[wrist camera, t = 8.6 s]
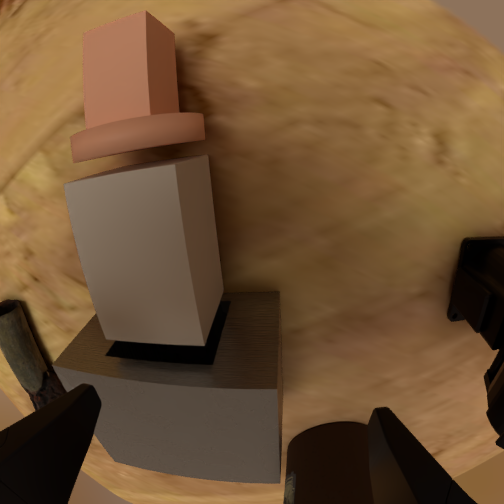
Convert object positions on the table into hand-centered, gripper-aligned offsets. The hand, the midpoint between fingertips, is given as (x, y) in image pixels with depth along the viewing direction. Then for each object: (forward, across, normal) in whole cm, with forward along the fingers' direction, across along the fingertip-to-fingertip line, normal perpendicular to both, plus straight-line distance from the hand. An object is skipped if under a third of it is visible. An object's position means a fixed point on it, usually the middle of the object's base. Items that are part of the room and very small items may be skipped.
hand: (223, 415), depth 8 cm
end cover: (+11, +5, -6) cm, 13 cm away
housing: (+12, +4, +7) cm, 14 cm away
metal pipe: (+12, +23, +13) cm, 29 cm away
